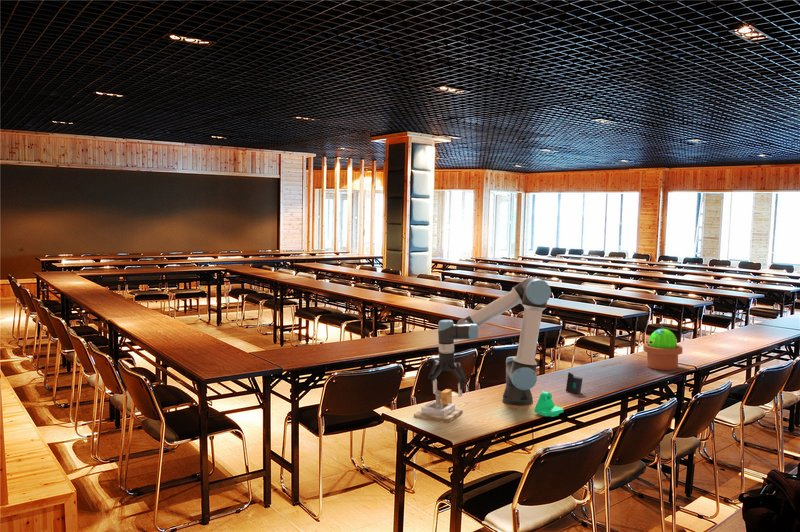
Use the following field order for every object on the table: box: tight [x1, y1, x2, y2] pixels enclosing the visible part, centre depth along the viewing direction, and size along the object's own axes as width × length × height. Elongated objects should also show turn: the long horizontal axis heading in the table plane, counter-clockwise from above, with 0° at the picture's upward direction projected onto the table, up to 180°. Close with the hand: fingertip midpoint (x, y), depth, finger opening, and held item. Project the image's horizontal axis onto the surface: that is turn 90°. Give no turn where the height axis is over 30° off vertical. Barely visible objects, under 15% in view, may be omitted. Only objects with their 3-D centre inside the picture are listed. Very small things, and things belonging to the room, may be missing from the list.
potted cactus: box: [642, 328, 683, 371], centre depth 367 cm, size 22×22×25 cm
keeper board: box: [413, 389, 464, 424], centre depth 279 cm, size 16×18×12 cm
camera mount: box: [533, 391, 564, 418], centre depth 279 cm, size 12×8×10 cm, turn 121°
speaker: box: [565, 371, 583, 394], centre depth 314 cm, size 8×6×10 cm
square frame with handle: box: [420, 388, 456, 417], centre depth 282 cm, size 18×12×8 cm, turn 150°
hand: (447, 394), depth 288 cm, fingers open, 13 cm apart
